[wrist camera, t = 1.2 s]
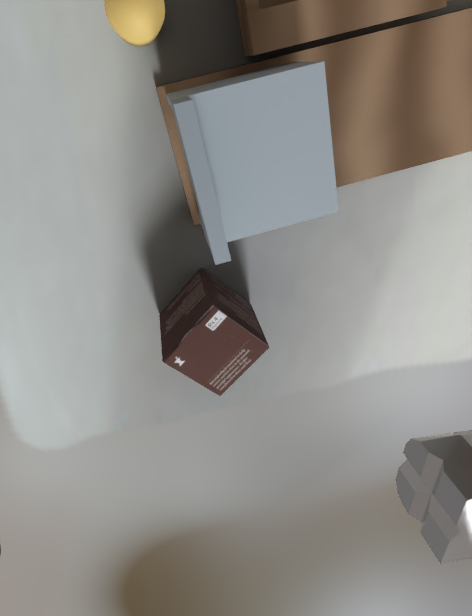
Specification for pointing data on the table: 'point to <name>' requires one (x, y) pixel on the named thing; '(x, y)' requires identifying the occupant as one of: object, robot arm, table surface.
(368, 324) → the table surface
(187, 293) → the box
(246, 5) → the board
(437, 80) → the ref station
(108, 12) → the pin
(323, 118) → the cover
